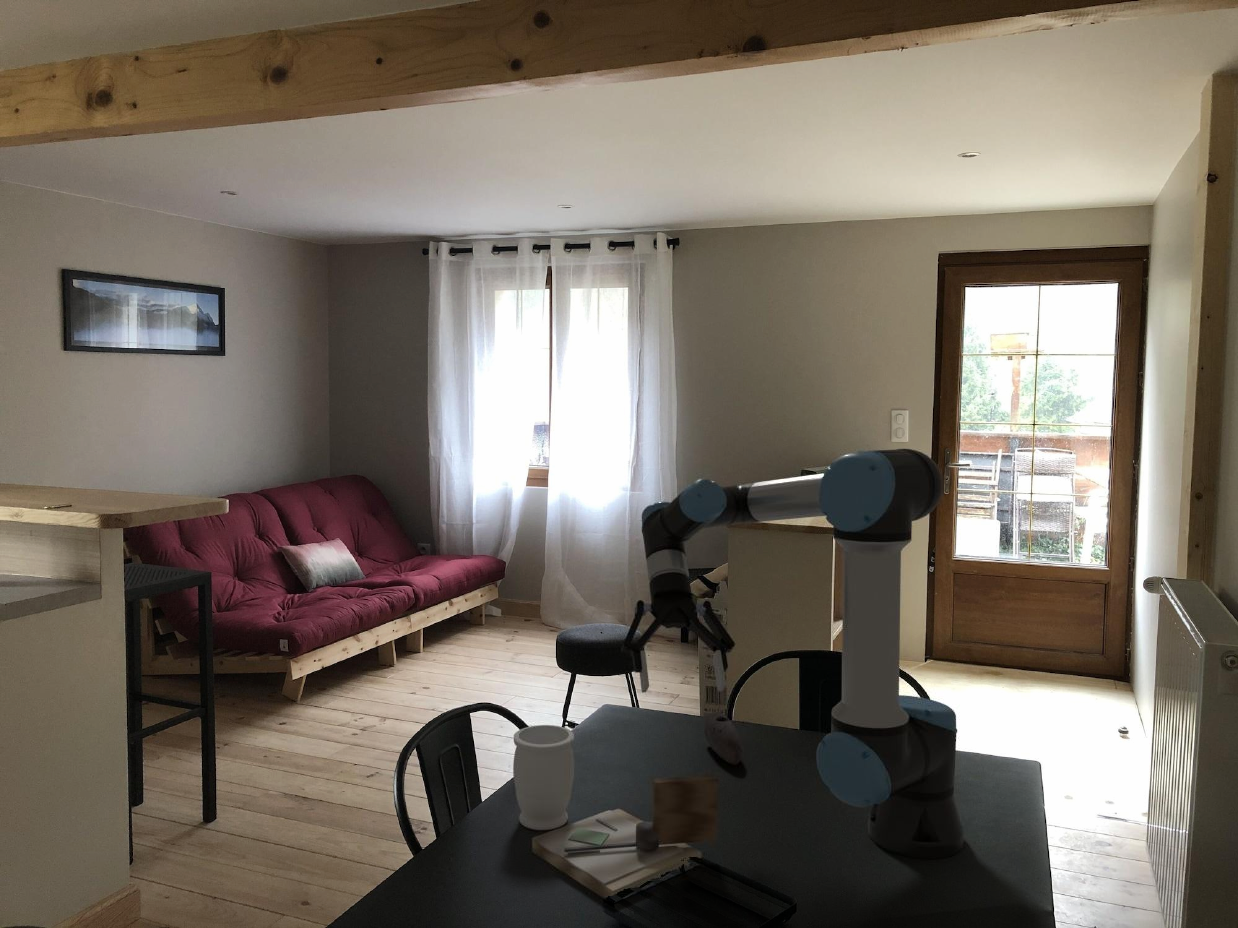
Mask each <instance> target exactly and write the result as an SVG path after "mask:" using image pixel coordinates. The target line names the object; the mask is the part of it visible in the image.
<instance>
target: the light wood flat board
mask: <svg viewBox="0 0 1238 928" xmlns="http://www.w3.org/2000/svg"><path fill="white" fill-rule="evenodd" d="M640 822H644V821H643V820H641V819H639V818H637V817H635V816H633V815H632V814H630V813H628V812H626V811H624V810H623V809H620V808H616V809H612V810H610V809H609V810H605V811H603V812H599V813H598V814H594V815H593V816H592V815H591V816H589V817H587V818H584V819H581V820H579V821H575V822H573V823H569V824H568V825H565V826H561V827H558V828H555V829H552V830H549V831H547V832H545V833H542V834H540V835H536V836H534V837H532V838H531V841H532V842H531V846H532V847H531V848H532V850H531V851H532V853H533V854H534V855H536V856H538V857H539V858H540V859H543V860H544V861H545V862H547V863H549V864H550V865H552V866H553V867H555V868H556V869H558V870H559V871H561V872H562V873H564V874H565V875H567V876H569V877H570V878H572V879H574V880H575V881H576V882H577V883H580V884H581V885H582V886H584V887H586V888H587V889H589V890H590V891H592V892H594V893H595V894H596V895H598V896H600V897H601V898H603V899H604V900H606V899H605V898H607V897H608V896H613V895H615V894H617V893H618V892H620V891H623V890H624V889H628V888H635V887H640V886H641V885H643V884H644V883H646V882H647V881H651V879H653V878H654V879H655V878H660V877H661V875H662V874H663V875H664V874H665V873H666V872H668V871H672V870H675V869H678V868H679V867H680V868H681V866H682V865H683V864H684V865H686V866H689V864H690V863H689V862H688V861H687V860H689V859H690V858H689V857H698V858H703V857H702V856H703V854H702V853H703V852H702V851H700V850H698V849H696V848H694V847H692V846H690V845H689V844H688V843H679V844H666V845H659V847H658V848H657V849H655V850H652V851H643V850H640V849H638V848H637V847H624V848H611V849H598V850H586V851H573V852H565V851H564V848H568V847H581V846H594V845H606V844H619V843H632V842H636V825H637V824H638V823H640ZM685 858H686V859H685ZM683 859H684V861H681V860H683Z"/></svg>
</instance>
